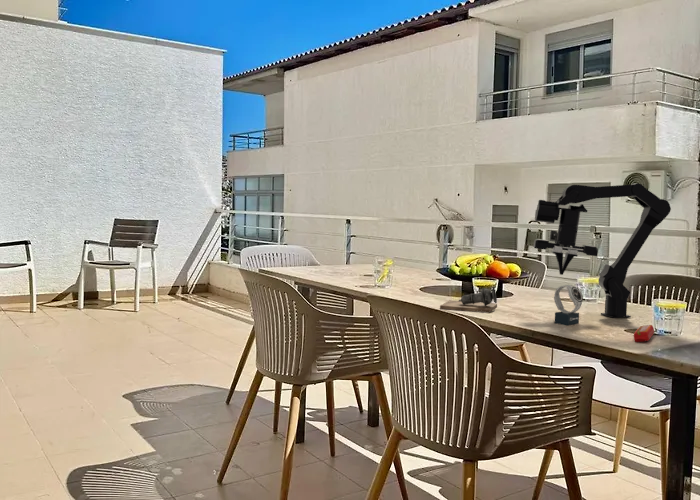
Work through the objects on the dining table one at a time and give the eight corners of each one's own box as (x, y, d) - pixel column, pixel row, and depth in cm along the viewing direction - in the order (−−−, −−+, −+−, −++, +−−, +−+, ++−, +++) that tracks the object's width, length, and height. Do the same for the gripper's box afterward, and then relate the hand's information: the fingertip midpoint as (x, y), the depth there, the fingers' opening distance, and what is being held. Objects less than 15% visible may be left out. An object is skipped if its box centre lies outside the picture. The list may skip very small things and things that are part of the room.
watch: (574, 326, 186) (576, 287, 185) (549, 322, 192) (550, 284, 191) (585, 324, 189) (586, 286, 189) (560, 320, 196) (561, 283, 195)
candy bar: (639, 333, 179) (640, 322, 179) (654, 335, 177) (655, 324, 177) (631, 343, 165) (632, 331, 165) (647, 345, 163) (648, 333, 163)
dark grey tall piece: (492, 285, 212) (455, 291, 216) (495, 304, 211) (458, 309, 215) (494, 286, 217) (458, 292, 221) (497, 304, 216) (461, 309, 220)
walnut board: (497, 306, 221) (497, 303, 221) (490, 312, 208) (490, 309, 208) (449, 303, 227) (449, 300, 227) (440, 308, 214) (440, 305, 214)
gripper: (595, 227, 213) (587, 275, 214) (535, 220, 216) (528, 267, 218) (601, 229, 202) (593, 280, 203) (538, 221, 205) (531, 271, 207)
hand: (561, 274), depth 208 cm, fingers closed
